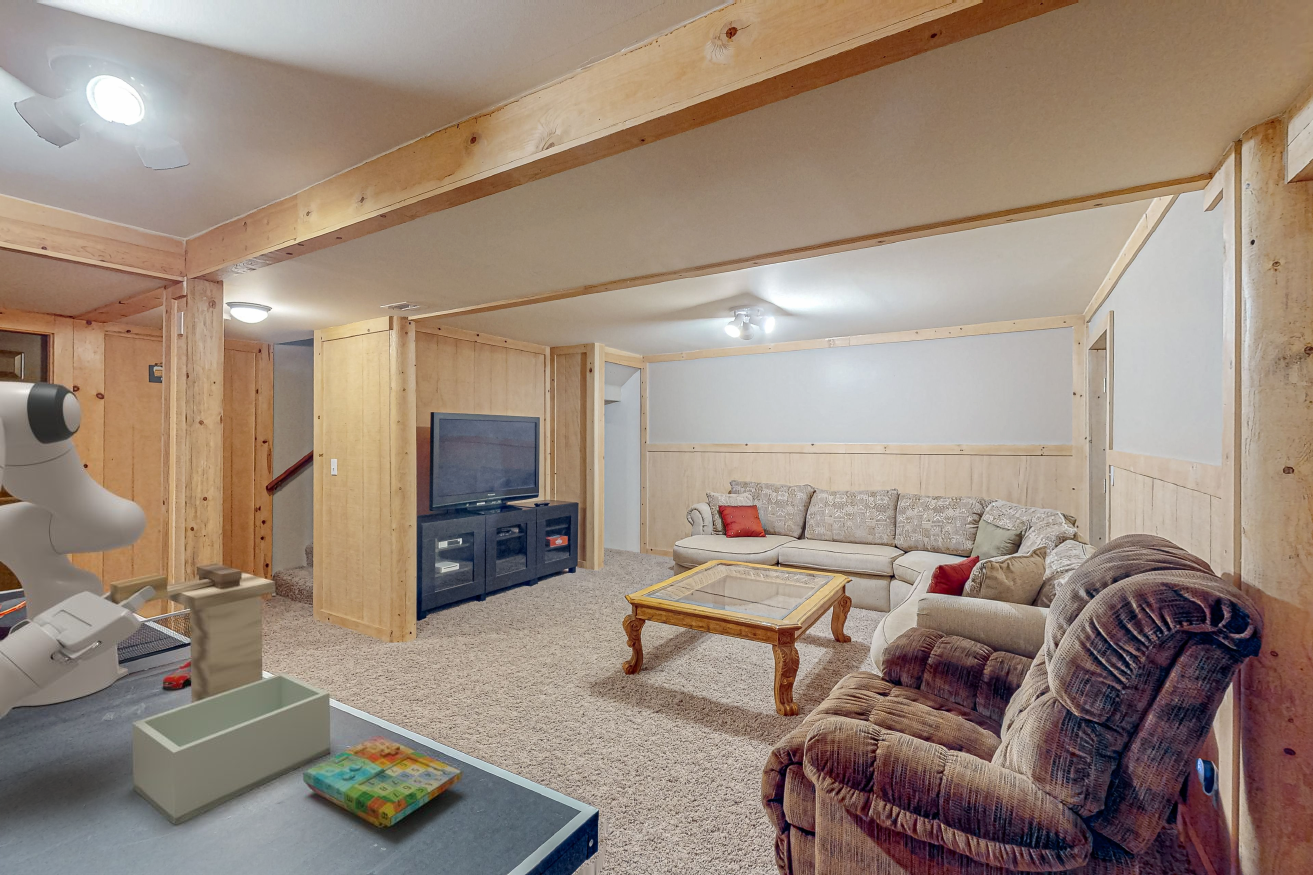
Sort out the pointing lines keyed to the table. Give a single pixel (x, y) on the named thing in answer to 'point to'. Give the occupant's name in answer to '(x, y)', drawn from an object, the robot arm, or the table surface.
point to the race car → (179, 678)
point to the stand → (224, 629)
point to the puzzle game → (380, 780)
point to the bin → (228, 744)
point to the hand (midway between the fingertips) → (145, 586)
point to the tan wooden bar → (157, 582)
